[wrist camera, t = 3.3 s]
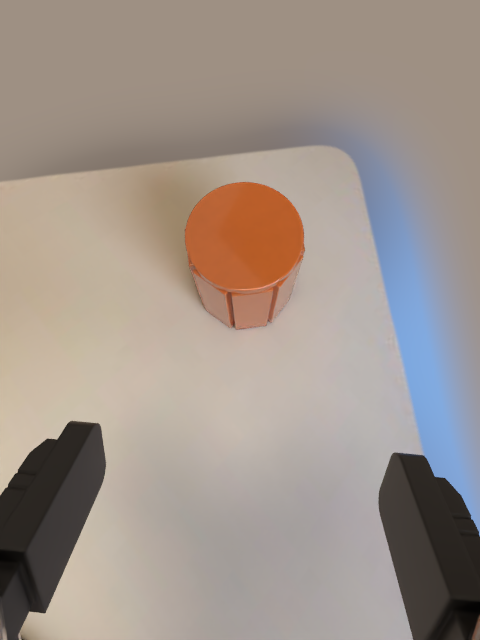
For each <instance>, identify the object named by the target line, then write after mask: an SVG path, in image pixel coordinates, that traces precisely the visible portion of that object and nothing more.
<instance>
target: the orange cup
mask: <svg viewBox="0 0 480 640" xmlns="http://www.w3.org/2000/svg"><path fill="white" fill-rule="evenodd" d="M185 244H186V250H187V253H188V262H189V267H190V270H191V273H192V275H193V278H194V281H195V284H196V287H197V289H198V292H199V295H200V298H201V300H202V303H203V306H205V308H206V311H207V312H209V313H210V314H211V315H213V316H214V317H216V318H217V319H218V320H220V321H221V322H222V323H224V324H225V325H226V326H228V327H229V328H232V326H233V325H234V324H235V329H236V330H238V329H245V328H252V327H260V326H266V325H267V321H269V322H270V323H272V321H273V320H274V319H275V317H276V316H277V315H278V314H279V312H280V311H281V310H282V308H283V307H284V306H285V304H286V303H287V302H288V300H289V298H290V295H291V293H292V290H293V287H294V284H295V281H296V278H297V275H298V272H299V269H300V266H301V263H302V260H303V254H304V251H305V247H304V230H303V225H302V221H301V218H300V216H299V214H298V212H297V210H296V209H295V207H294V206H293V205H292V203H291V202H290V201H289V200H288V199H287V198H286V197H285V196H284V195H282V194H281V193H279V192H278V191H276V190H274V189H273V188H270V187H268V186H265V185H262V184H258V183H251V182H239V183H232V184H228V185H225V186H222V187H219V188H217V189H215V190H213V191H212V192H210V193H208V194H207V195H206V196H205V197H203V198H202V199H201V200H200V201H199V202H198V204H197V205H196V206H195V207H194V209H193V211H192V212H191V214H190V216H189V219H188V221H187V225H186V229H185Z"/></svg>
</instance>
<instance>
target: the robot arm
mask: <svg viewBox="0 0 480 640" xmlns="http://www.w3.org/2000/svg"><path fill="white" fill-rule="evenodd" d="M105 468H106V460H105V453H104V446H103V439H102V431H101V426H100V424H98V423H88V422H77V421H70V422H69V423H68V424H67V425H66V427H65V428H64V430H63V432H62V433H61V435H60V436H59V438H58V440H56V439H46V440H45V441H44V442H43V443H41V444H40V445H39V446H38V447H36V448H35V449H34V450H33V451H31V452H30V453H29V455H28V456H27V458H26V459H25V460H24V462H23V463H22V465H21V466H20V468H19V469H18V473H16V474H15V475H14V477H13V478H12V479H11V481H10V482H9V484H8V487H7V488H5V490H4V491H3V493H2V494H1V495H0V640H21V634H20V630H21V627H22V625H23V623H24V621H25V619H26V617H27V615H28V613H29V611H30V612H39V613H46V610H47V608H48V606H49V604H50V601H51V599H52V597H53V594H54V592H55V590H56V588H57V585H58V583H59V581H60V579H61V576H62V574H63V572H64V569H65V567H66V565H67V563H68V560H69V558H70V556H71V554H72V551H73V549H74V547H75V544H76V542H77V540H78V538H79V535H80V533H81V531H82V529H83V526H84V524H85V522H86V519H87V517H88V515H89V513H90V510H91V508H92V506H93V504H94V501H95V499H96V497H97V494H98V492H99V490H100V488H101V485H102V482H103V479H104V475H105ZM379 511H380V516H381V520H382V523H383V527H384V531H385V535H386V538H387V542H388V546H389V550H390V553H391V557H392V561H393V565H394V568H395V572H396V576H397V580H398V583H399V587H400V591H401V595H402V598H403V602H404V606H405V609H406V613H407V617H408V621H409V624H410V628H411V632H412V636H413V639H414V640H480V536H479V531H478V530H477V527H476V525H475V523H474V521H473V520H471V515H470V513H469V511H468V509H467V507H466V505H465V503H464V501H463V499H462V497H461V495H460V494H459V493H458V492H457V491H456V490H455V489H454V487H453V486H452V485H451V484H450V483H449V482H448V481H447V480H446V479H445V478H439V477H435V476H434V474H433V472H432V470H431V467H430V465H429V463H428V461H427V459H426V458H425V457H424V456H423V455H415V454H404V453H393V454H392V456H391V458H390V461H389V464H388V467H387V470H386V473H385V476H384V479H383V482H382V484H381V487H380V491H379Z"/></svg>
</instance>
